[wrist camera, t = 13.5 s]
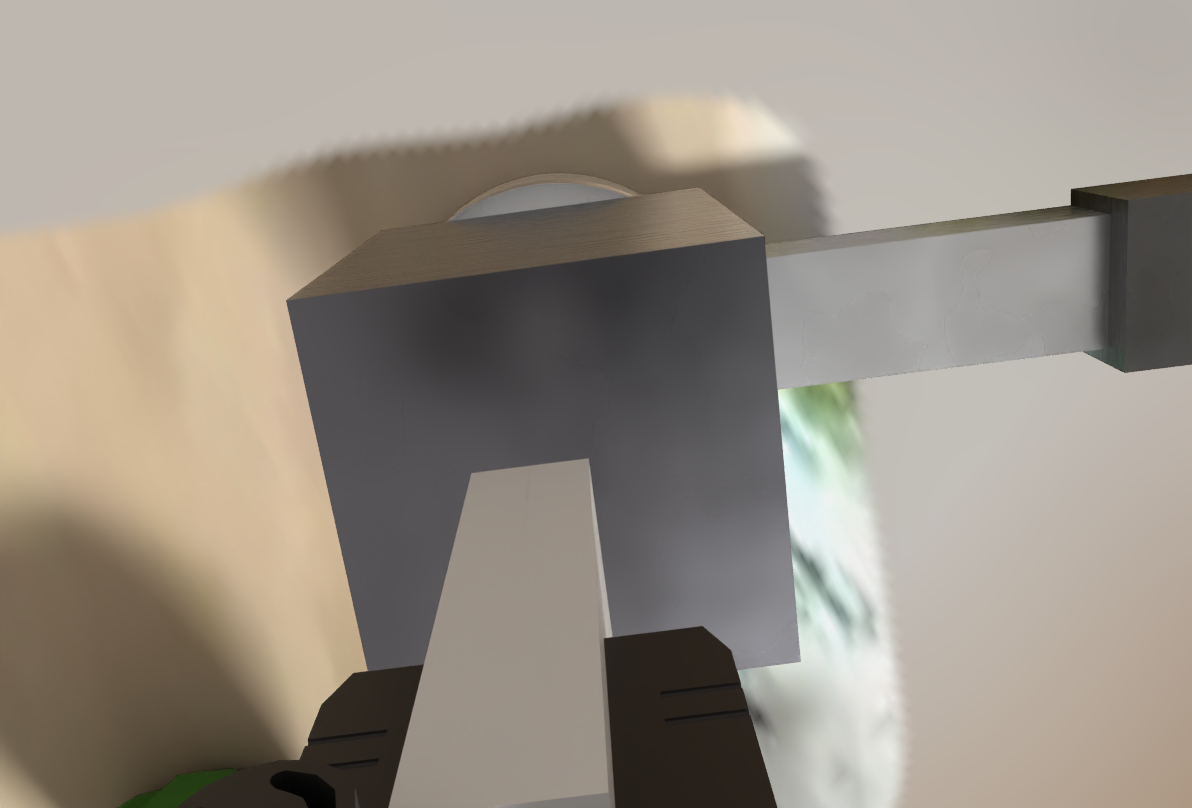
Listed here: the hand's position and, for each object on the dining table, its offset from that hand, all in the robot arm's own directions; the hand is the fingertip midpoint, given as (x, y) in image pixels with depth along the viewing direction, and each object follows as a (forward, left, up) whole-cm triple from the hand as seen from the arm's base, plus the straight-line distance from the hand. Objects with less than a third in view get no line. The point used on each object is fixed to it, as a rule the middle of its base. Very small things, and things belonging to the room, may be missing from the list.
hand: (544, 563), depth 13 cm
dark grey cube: (0, 0, -11) cm, 11 cm away
